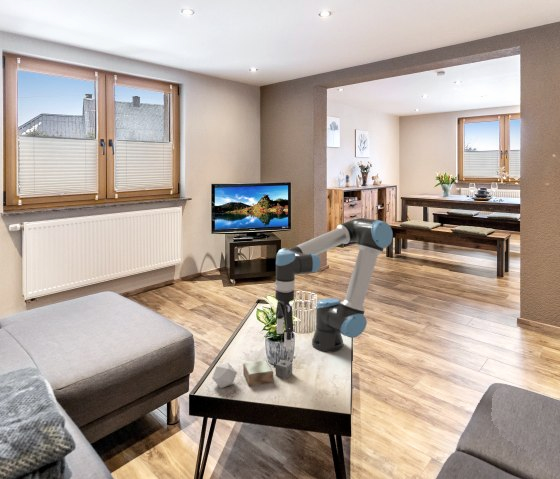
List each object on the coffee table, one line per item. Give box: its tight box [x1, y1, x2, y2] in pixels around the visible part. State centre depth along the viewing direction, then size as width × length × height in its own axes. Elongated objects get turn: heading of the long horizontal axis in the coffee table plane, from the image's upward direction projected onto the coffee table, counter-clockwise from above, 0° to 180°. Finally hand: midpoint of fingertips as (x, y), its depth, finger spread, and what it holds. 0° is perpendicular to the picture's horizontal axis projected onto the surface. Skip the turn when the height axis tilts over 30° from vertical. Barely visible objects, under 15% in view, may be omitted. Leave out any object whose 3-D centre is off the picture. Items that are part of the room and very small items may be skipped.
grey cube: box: [275, 359, 293, 380], centre depth 166 cm, size 5×5×5 cm
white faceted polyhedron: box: [211, 362, 238, 389], centre depth 157 cm, size 8×9×10 cm
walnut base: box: [242, 360, 274, 387], centre depth 162 cm, size 10×10×5 cm
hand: (283, 339), depth 163 cm, fingers open, 13 cm apart
